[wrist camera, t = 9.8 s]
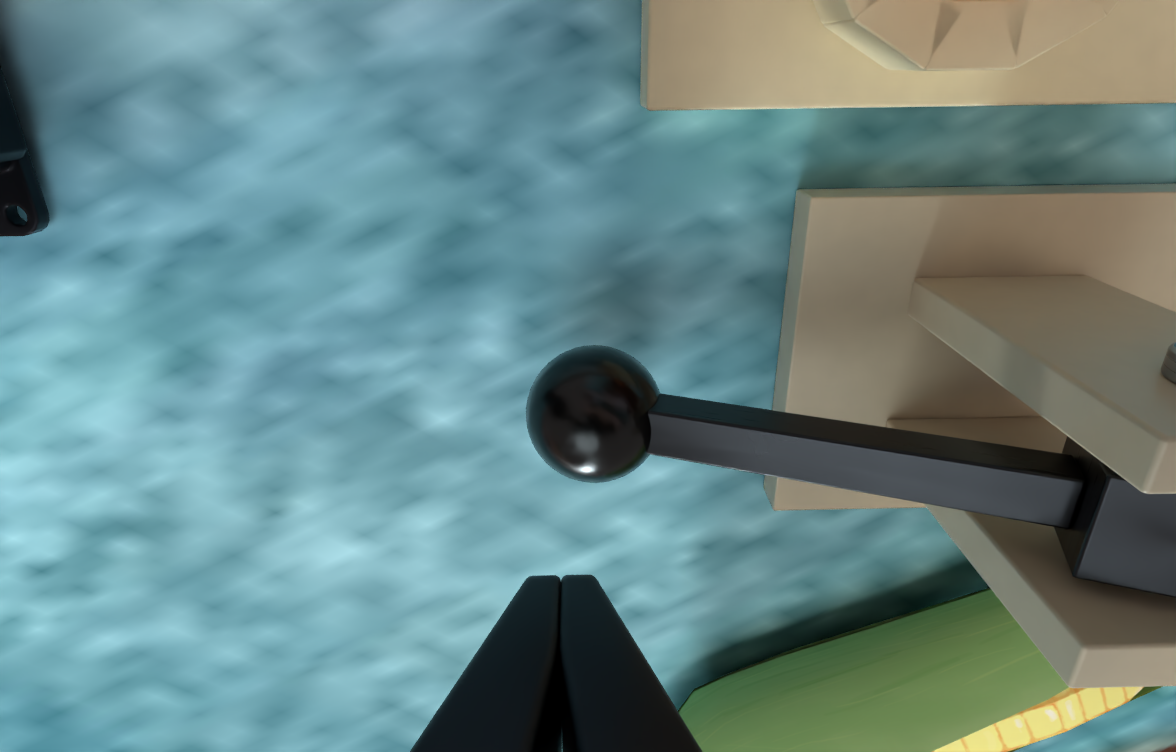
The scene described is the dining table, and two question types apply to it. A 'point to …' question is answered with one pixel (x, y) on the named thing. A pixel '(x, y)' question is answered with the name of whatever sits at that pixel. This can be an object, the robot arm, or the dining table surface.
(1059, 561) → the lever stand
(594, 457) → the black lever handle
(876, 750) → the edible corn
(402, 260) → the dining table surface
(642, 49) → the control block
